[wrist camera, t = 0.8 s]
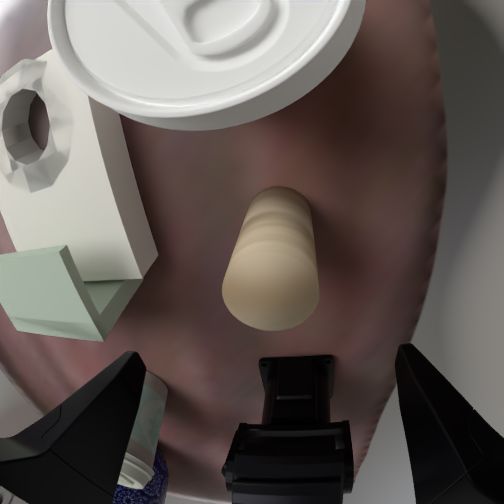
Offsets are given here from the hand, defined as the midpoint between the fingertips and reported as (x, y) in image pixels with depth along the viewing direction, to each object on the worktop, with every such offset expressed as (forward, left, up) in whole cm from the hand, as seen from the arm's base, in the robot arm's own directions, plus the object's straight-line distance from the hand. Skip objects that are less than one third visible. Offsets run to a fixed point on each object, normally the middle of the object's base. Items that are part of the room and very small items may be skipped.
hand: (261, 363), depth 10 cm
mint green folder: (-1, +16, -12) cm, 20 cm away
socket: (+6, +15, -12) cm, 20 cm away
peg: (0, 0, -12) cm, 12 cm away
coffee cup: (-18, +17, -12) cm, 27 cm away
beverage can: (+11, 0, -12) cm, 16 cm away
